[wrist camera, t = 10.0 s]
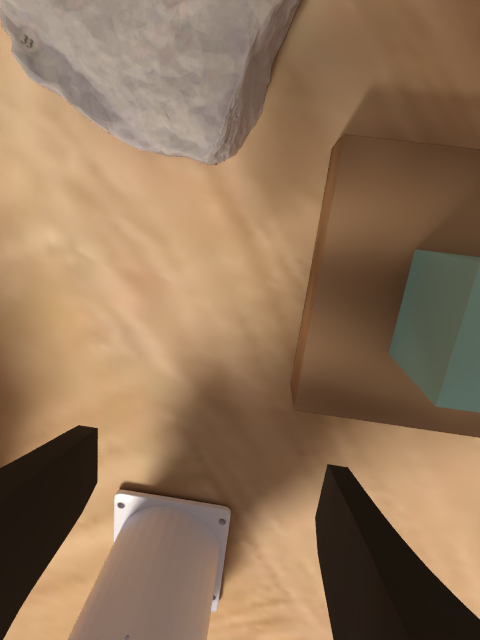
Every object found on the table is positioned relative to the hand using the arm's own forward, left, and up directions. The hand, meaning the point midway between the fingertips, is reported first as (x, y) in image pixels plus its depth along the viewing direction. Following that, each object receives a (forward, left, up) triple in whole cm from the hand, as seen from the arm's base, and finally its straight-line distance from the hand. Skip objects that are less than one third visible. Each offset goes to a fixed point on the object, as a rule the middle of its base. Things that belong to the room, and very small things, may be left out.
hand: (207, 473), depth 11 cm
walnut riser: (+5, -10, -10) cm, 15 cm away
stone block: (+15, +6, -11) cm, 20 cm away
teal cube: (+5, -10, -7) cm, 13 cm away
